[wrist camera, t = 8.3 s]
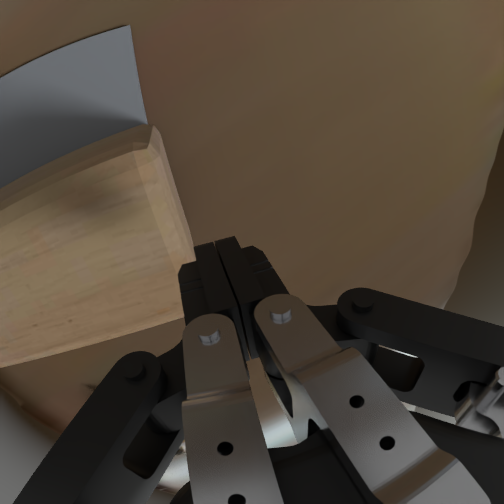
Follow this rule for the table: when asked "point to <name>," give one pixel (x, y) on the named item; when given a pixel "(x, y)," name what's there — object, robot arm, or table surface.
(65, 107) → the mat
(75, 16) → the table surface
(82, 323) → the wooden block
